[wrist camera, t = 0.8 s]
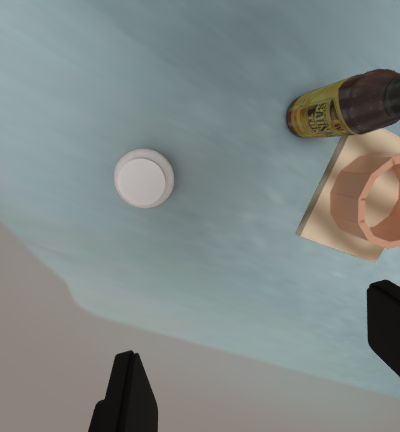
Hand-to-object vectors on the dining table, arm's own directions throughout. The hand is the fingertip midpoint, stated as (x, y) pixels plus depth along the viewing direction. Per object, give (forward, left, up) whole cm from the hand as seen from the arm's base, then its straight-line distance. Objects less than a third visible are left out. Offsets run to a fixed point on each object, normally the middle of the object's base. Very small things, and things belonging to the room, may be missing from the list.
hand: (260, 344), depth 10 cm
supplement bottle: (-2, -7, -30) cm, 31 cm away
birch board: (-11, +27, -30) cm, 41 cm away
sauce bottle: (-18, +12, -30) cm, 37 cm away
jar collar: (-11, +27, -28) cm, 40 cm away
